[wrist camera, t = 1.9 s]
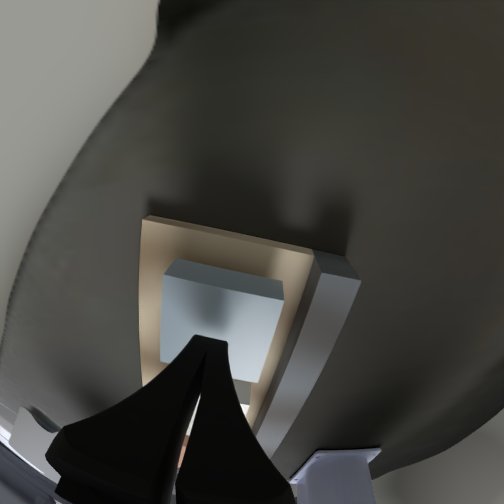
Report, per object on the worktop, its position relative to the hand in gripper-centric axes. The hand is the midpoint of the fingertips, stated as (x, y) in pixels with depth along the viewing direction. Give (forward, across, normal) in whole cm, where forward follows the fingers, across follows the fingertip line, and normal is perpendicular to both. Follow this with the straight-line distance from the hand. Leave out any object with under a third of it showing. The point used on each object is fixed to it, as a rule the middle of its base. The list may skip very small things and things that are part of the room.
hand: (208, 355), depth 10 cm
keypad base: (+6, 0, +7) cm, 9 cm away
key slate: (+3, 0, 0) cm, 3 cm away
